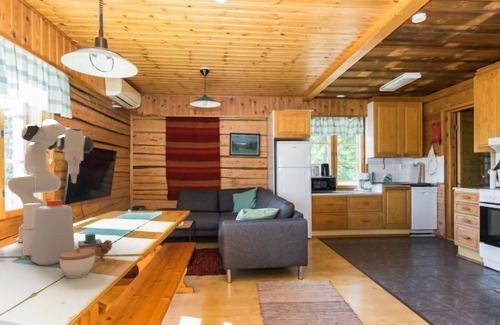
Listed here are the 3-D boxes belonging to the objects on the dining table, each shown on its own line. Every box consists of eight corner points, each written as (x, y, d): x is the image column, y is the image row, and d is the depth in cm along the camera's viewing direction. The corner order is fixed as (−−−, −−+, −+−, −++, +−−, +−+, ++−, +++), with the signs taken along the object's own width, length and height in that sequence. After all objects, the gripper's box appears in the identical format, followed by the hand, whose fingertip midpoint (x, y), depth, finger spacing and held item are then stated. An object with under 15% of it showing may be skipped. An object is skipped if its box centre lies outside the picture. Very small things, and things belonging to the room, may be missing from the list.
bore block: (78, 251, 157) (78, 241, 157) (99, 248, 163) (99, 239, 163) (79, 255, 149) (80, 245, 149) (102, 252, 154) (102, 242, 155)
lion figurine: (111, 257, 147) (111, 238, 147) (112, 260, 142) (112, 240, 143) (76, 262, 139) (76, 242, 139) (76, 265, 135) (77, 244, 135)
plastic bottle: (78, 259, 144) (79, 199, 144) (42, 267, 131) (43, 202, 132) (63, 253, 152) (64, 198, 153) (27, 261, 140) (29, 200, 140)
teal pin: (93, 248, 159) (93, 233, 159) (95, 250, 155) (95, 234, 156) (85, 249, 156) (85, 234, 156) (86, 251, 153) (86, 235, 153)
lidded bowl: (87, 267, 131) (87, 242, 131) (100, 274, 123) (100, 247, 123) (54, 275, 121) (54, 248, 122) (66, 283, 113) (66, 253, 114)
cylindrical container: (31, 256, 148) (31, 204, 148) (18, 255, 149) (19, 204, 150) (43, 252, 155) (44, 203, 155) (32, 251, 156) (32, 202, 157)
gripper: (82, 156, 158) (81, 183, 158) (79, 158, 176) (78, 181, 175) (68, 156, 155) (67, 183, 155) (66, 157, 172) (66, 182, 172)
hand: (73, 182), depth 165 cm, fingers open, 8 cm apart
